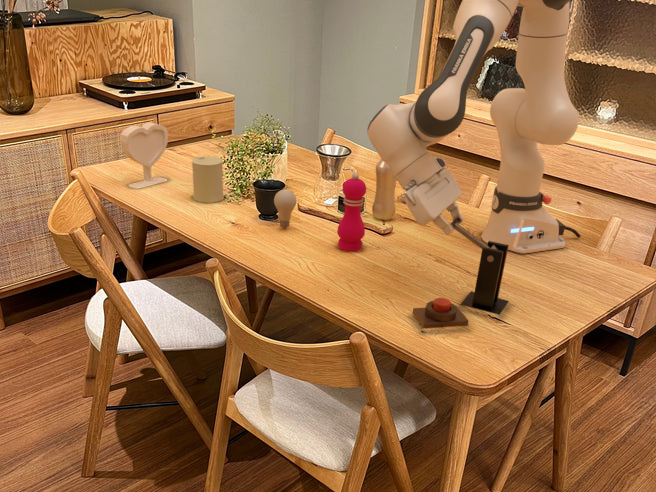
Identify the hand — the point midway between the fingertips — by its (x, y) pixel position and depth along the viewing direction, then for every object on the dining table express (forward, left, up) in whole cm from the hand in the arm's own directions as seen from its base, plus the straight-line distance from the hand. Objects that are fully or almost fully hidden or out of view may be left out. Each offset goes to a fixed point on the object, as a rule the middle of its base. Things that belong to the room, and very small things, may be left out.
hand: (455, 227), depth 154 cm
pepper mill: (+15, -31, -17) cm, 38 cm away
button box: (+6, +12, -17) cm, 22 cm away
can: (+49, -73, -17) cm, 90 cm away
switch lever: (-3, +3, -3) cm, 5 cm away
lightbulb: (+30, -46, -17) cm, 57 cm away
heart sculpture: (+67, -89, -17) cm, 113 cm away
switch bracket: (-7, +6, -17) cm, 19 cm away
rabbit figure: (-15, -61, -17) cm, 65 cm away
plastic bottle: (0, -51, -17) cm, 54 cm away
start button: (+6, +12, -13) cm, 19 cm away
